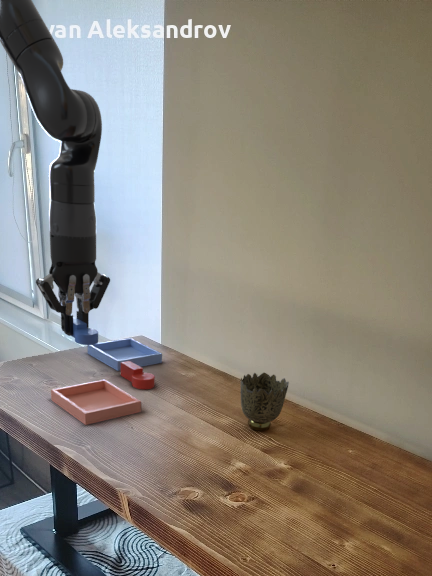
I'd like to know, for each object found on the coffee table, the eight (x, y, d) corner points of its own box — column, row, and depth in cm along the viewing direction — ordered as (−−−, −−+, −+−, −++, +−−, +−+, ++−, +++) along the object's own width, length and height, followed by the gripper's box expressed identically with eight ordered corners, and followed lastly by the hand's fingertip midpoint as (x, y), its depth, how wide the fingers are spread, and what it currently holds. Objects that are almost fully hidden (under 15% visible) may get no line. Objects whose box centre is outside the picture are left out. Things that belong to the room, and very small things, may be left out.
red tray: (51, 400, 103) (50, 389, 102) (105, 389, 109) (105, 379, 108) (85, 425, 96) (85, 413, 95) (141, 411, 102) (141, 401, 101)
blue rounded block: (59, 333, 112) (59, 318, 111) (79, 330, 114) (79, 316, 113) (82, 346, 107) (81, 331, 105) (102, 343, 109) (102, 328, 108)
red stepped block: (115, 376, 115) (115, 363, 113) (134, 373, 117) (134, 359, 116) (140, 391, 110) (140, 377, 108) (158, 387, 112) (159, 373, 111)
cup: (226, 425, 100) (230, 377, 96) (256, 414, 105) (262, 368, 101) (260, 442, 96) (266, 393, 92) (291, 430, 100) (298, 383, 96)
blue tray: (87, 353, 125) (87, 344, 124) (130, 346, 131) (130, 337, 130) (117, 371, 117) (117, 361, 116) (161, 362, 123) (162, 353, 122)
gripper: (98, 226, 110) (98, 323, 118) (23, 227, 101) (29, 332, 110) (121, 234, 105) (119, 335, 113) (44, 236, 97) (49, 344, 105)
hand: (75, 333), depth 112 cm, fingers closed on blue rounded block, 2 cm apart
